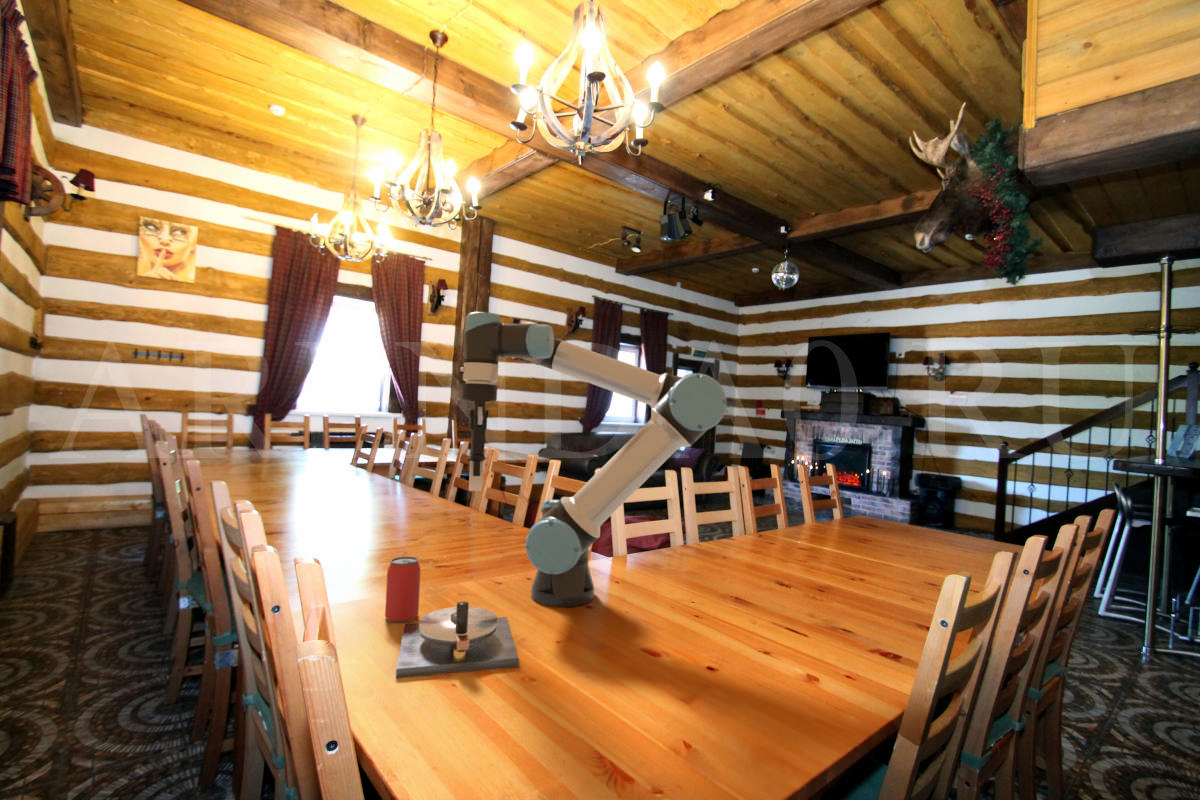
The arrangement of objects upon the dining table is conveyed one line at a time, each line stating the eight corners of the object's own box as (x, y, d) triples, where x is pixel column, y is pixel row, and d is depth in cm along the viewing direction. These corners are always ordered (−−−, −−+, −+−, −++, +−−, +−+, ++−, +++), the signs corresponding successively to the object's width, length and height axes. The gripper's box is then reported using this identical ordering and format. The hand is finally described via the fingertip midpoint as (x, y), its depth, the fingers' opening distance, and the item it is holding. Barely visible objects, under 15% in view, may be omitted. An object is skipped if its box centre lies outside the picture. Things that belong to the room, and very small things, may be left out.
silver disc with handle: (418, 617, 105) (420, 583, 105) (491, 611, 109) (493, 579, 109) (419, 654, 89) (421, 614, 89) (504, 645, 94) (505, 607, 94)
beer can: (407, 625, 110) (410, 565, 110) (378, 621, 111) (381, 562, 111) (424, 613, 116) (426, 557, 116) (396, 610, 117) (399, 554, 118)
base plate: (506, 624, 112) (507, 607, 112) (518, 666, 94) (519, 646, 94) (404, 631, 107) (405, 613, 107) (395, 678, 88) (396, 656, 88)
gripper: (461, 383, 125) (457, 486, 124) (463, 381, 112) (458, 495, 112) (494, 385, 127) (490, 486, 126) (500, 383, 114) (495, 495, 114)
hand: (475, 490), depth 119 cm, fingers closed
